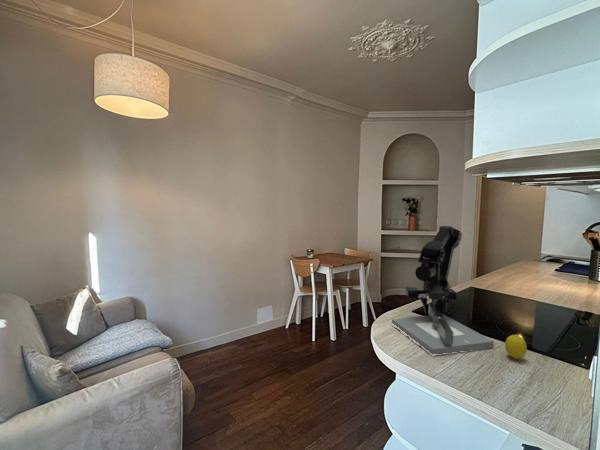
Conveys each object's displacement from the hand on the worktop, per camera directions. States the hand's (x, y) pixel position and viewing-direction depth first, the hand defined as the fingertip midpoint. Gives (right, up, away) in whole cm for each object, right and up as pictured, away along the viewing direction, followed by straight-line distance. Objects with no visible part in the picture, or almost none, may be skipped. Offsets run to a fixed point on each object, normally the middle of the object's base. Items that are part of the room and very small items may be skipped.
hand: (429, 313), depth 121 cm
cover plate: (-2, -5, -11) cm, 13 cm away
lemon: (+16, -7, -26) cm, 31 cm away
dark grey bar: (-2, -1, -12) cm, 12 cm away
